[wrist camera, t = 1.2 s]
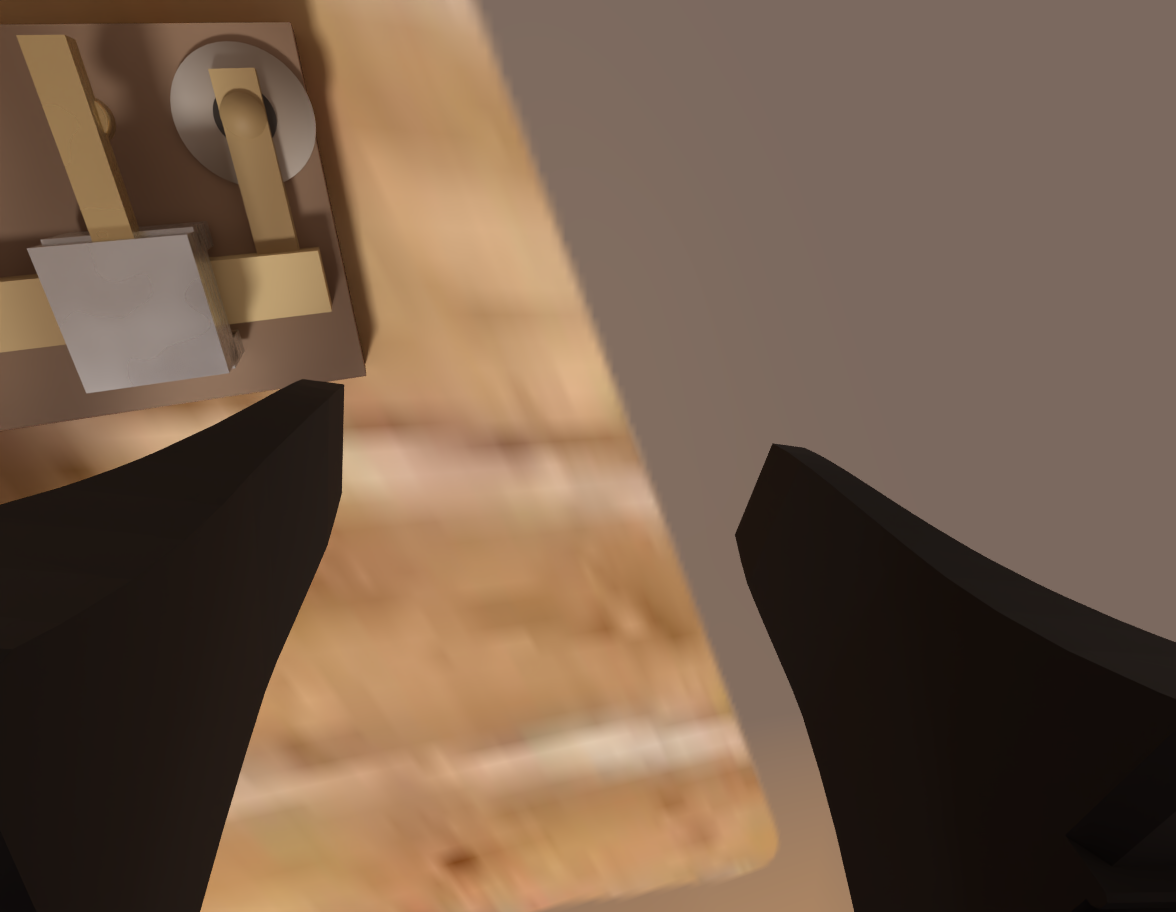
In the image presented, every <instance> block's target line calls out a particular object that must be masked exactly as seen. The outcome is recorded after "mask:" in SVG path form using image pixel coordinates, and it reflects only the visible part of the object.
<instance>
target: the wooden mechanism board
mask: <svg viewBox="0 0 1176 912" xmlns="http://www.w3.org/2000/svg"><path fill="white" fill-rule="evenodd" d="M16 35H67V36H69V37H71V38H73V39H75V40H76V43H77V45H78V48H79V51H80V54H81V57H82V60H83V63H84V66H85V69H86V72H87V75H88V78H89V81H90V84H91V87H92V90H93V93H94V96H95V97H96V98H98V99H99V100H101V101H102V102H103V103H105V104H106V105H107V106H108V108H109V109H110V110H111V112H112V113H113V115H114V118H115V121H116V132H115V135H114V137H113V138H112V139H111V140H110V144H111V147H112V149H113V152H114V155H115V158H116V161H117V164H118V167H119V170H120V173H121V176H122V179H123V182H124V185H125V188H126V191H127V194H128V197H129V200H130V203H131V206H132V209H133V212H134V215H135V218H136V221H137V224H138V227H144V226H156V225H168V224H180V223H192V222H204V221H207V223H208V227H209V230H210V234H211V237H212V241H213V244H214V246H213V247H211V248H209V249H208V250H207V252H208V255H209V258H210V262H211V265H212V268H213V272H214V275H215V279H216V282H217V285H218V289H219V292H220V295H221V299H222V302H223V305H224V309H225V312H226V315H227V319H228V322H229V325H230V329H231V330H239V333H240V336H241V340H242V343H243V346H244V350H245V352H244V353H243V355H242V357H241V359H240V361H239V363H238V365H237V366H236V368H234V369H232V370H231V371H230V373H227V374H220V375H213V376H206V377H199V378H192V379H185V380H178V381H171V382H164V383H157V384H150V385H143V386H136V387H128V388H121V389H114V390H107V391H100V392H93V393H86V391H85V389H84V386H83V384H82V382H81V379H80V377H79V374H78V372H77V369H76V367H75V365H74V362H73V360H72V357H71V355H70V352H69V350H68V348H67V345H66V343H65V340H64V338H63V335H62V333H61V331H60V328H59V326H58V323H57V321H56V318H55V316H54V313H53V311H52V309H51V306H50V304H49V301H48V299H47V296H46V294H45V292H44V289H43V287H42V284H41V282H40V279H39V277H38V275H37V272H36V270H35V267H34V265H33V262H32V260H31V258H30V255H29V253H28V250H27V248H30V247H34V246H38V245H42V243H41V239H45V238H50V237H54V236H58V235H62V234H66V233H71V232H83V231H88V229H87V226H86V223H85V220H84V218H83V215H82V212H81V210H80V207H79V204H78V201H77V199H76V196H75V193H74V191H73V188H72V185H71V183H70V180H69V177H68V174H67V172H66V169H65V166H64V164H63V161H62V158H61V155H60V153H59V150H58V147H57V145H56V142H55V139H54V136H53V134H52V131H51V128H50V126H49V123H48V120H47V117H46V115H45V112H44V109H43V107H42V104H41V101H40V98H39V96H38V93H37V90H36V88H35V85H34V82H33V79H32V77H31V74H30V71H29V69H28V66H27V63H26V60H25V58H24V55H23V52H22V50H21V47H20V44H19V41H18V39H17V36H16ZM362 376H366V369H365V362H364V358H363V353H362V348H361V344H360V339H359V334H358V330H357V325H356V320H355V316H354V311H353V306H352V302H351V297H350V292H349V288H348V283H347V278H346V273H345V269H344V264H343V259H342V255H341V250H340V245H339V241H338V236H337V231H336V227H335V222H334V217H333V213H332V208H331V203H330V199H329V194H328V189H327V185H326V180H325V175H324V171H323V166H322V161H321V157H320V152H319V147H318V143H317V138H316V122H315V115H314V111H313V108H312V105H311V102H310V100H309V97H308V95H307V91H306V86H305V82H304V77H303V72H302V68H301V63H300V58H299V54H298V49H297V44H296V40H295V35H294V31H293V28H292V25H291V23H290V22H255V23H124V24H0V431H4V430H11V429H17V428H24V427H30V426H37V425H44V424H50V423H57V422H64V421H70V420H77V419H83V418H90V417H97V416H103V415H110V414H117V413H123V412H130V411H136V410H143V409H150V408H156V407H163V406H170V405H176V404H183V403H189V402H196V401H203V400H209V399H216V398H223V397H229V396H236V395H242V394H249V393H256V392H262V391H269V390H276V389H282V388H284V387H286V386H288V385H290V384H292V383H294V382H296V381H299V380H301V379H307V380H314V381H322V382H329V381H335V380H342V379H348V378H355V377H362Z"/></svg>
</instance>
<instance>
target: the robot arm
mask: <svg viewBox="0 0 1176 912" xmlns="http://www.w3.org/2000/svg"><path fill="white" fill-rule="evenodd" d="M343 414H344V385H343V384H336V383H329V382H322V381H314V380H307V379H301V380H299V381H296V382H294V383H292V384H290V385H288V386H286V387H284V388H282V389H280V390H279V391H277V392H275V393H273V394H271V395H269V396H268V397H266V398H264V399H262V400H260V401H258V402H257V403H255V404H253V405H251V406H249V407H247V408H245V409H244V410H242V411H240V412H238V413H236V414H234V415H232V416H230V417H228V418H227V419H225V420H223V421H221V422H219V423H217V424H215V425H213V426H211V427H209V428H207V429H205V430H202V431H200V432H198V433H196V434H194V435H192V436H189V437H187V438H185V439H183V440H181V441H179V442H177V443H174V444H172V445H170V446H168V447H166V448H164V449H162V450H159V451H157V452H155V453H153V454H150V455H148V456H145V457H143V458H141V459H138V460H136V461H133V462H131V463H128V464H126V465H123V466H120V467H118V468H115V469H112V470H110V471H107V472H104V473H101V474H98V475H95V476H93V477H90V478H87V479H84V480H81V481H79V482H76V483H73V484H70V485H67V486H64V487H61V488H57V489H54V490H50V491H47V492H43V493H40V494H36V495H33V496H29V497H26V498H22V499H19V500H15V501H12V502H8V503H5V504H1V505H0V912H200V910H201V907H202V903H203V899H204V896H205V892H206V889H207V885H208V882H209V878H210V874H211V871H212V867H213V864H214V860H215V857H216V853H217V850H218V846H219V842H220V839H221V835H222V832H223V828H224V825H225V821H226V818H227V815H228V811H229V808H230V805H231V801H232V798H233V795H234V791H235V788H236V784H237V781H238V778H239V774H240V771H241V768H242V764H243V761H244V758H245V754H246V751H247V748H248V745H249V742H250V738H251V735H252V732H253V729H254V726H255V722H256V719H257V716H258V713H259V710H260V706H261V703H262V700H263V697H264V694H265V691H266V688H267V686H268V683H269V680H270V678H271V675H272V673H273V670H274V667H275V665H276V662H277V660H278V658H279V655H280V653H281V651H282V649H283V646H284V644H285V642H286V639H287V637H288V635H289V633H290V630H291V628H292V626H293V623H294V621H295V619H296V617H297V614H298V612H299V610H300V608H301V605H302V603H303V601H304V598H305V596H306V594H307V592H308V589H309V587H310V585H311V582H312V580H313V578H314V575H315V573H316V571H317V568H318V566H319V564H320V562H321V559H322V557H323V554H324V552H325V550H326V547H327V545H328V541H329V538H330V534H331V531H332V527H333V524H334V520H335V517H336V513H337V509H338V505H339V502H340V498H341V494H342V460H343ZM735 537H736V541H737V545H738V550H739V554H740V558H741V563H742V566H743V570H744V573H745V577H746V580H747V584H748V586H749V589H750V591H751V594H752V596H753V599H754V601H755V604H756V606H757V608H758V611H759V613H760V616H761V618H762V620H763V623H764V625H765V627H766V629H767V632H768V634H769V637H770V639H771V641H772V643H773V646H774V648H775V650H776V653H777V655H778V657H779V660H780V662H781V664H782V667H783V669H784V671H785V673H786V676H787V678H788V680H789V683H790V685H791V688H792V690H793V692H794V695H795V698H796V700H797V703H798V705H799V708H800V710H801V713H802V716H803V719H804V722H805V726H806V729H807V732H808V735H809V739H810V742H811V745H812V748H813V752H814V755H815V758H816V761H817V765H818V768H819V771H820V775H821V779H822V782H823V786H824V790H825V793H826V797H827V801H828V805H829V808H830V812H831V816H832V819H833V823H834V827H835V830H836V834H837V839H838V843H839V847H840V852H841V856H842V860H843V865H844V869H845V873H846V878H847V882H848V886H849V890H850V895H851V899H852V904H853V908H854V912H1176V642H1173V641H1171V640H1168V639H1165V638H1162V637H1160V636H1157V635H1155V634H1152V633H1150V632H1147V631H1144V630H1142V629H1140V628H1137V627H1135V626H1132V625H1129V624H1127V623H1124V622H1122V621H1119V620H1117V619H1115V618H1112V617H1110V616H1108V615H1105V614H1103V613H1101V612H1099V611H1096V610H1094V609H1091V608H1090V607H1087V606H1085V605H1083V604H1080V603H1078V602H1076V601H1074V600H1071V599H1069V598H1067V597H1064V596H1062V595H1060V594H1058V593H1056V592H1054V591H1051V590H1050V589H1047V588H1045V587H1043V586H1041V585H1039V584H1037V583H1035V582H1033V581H1031V580H1029V579H1027V578H1025V577H1023V576H1021V575H1019V574H1017V573H1015V572H1013V571H1012V570H1010V569H1008V568H1006V567H1003V566H1002V565H1000V564H998V563H996V562H994V561H992V560H990V559H988V558H987V557H985V556H983V555H981V554H979V553H978V552H976V551H974V550H972V549H970V548H969V547H967V546H965V545H964V544H962V543H960V542H958V541H957V540H955V539H953V538H952V537H950V536H948V535H947V534H945V533H943V532H942V531H940V530H938V529H937V528H935V527H933V526H932V525H930V524H928V523H927V522H925V521H924V520H922V519H920V518H919V517H917V516H916V515H914V514H912V513H911V512H909V511H908V510H906V509H904V508H903V507H901V506H900V505H898V504H897V503H895V502H894V501H892V500H890V499H889V498H887V497H886V496H884V495H883V494H881V493H880V492H878V491H877V490H875V489H874V488H872V487H870V486H869V485H867V484H866V483H864V482H863V481H861V480H860V479H858V478H857V477H855V476H853V475H852V474H850V473H849V472H847V471H845V470H844V469H842V468H841V467H839V466H837V465H836V464H834V463H832V462H831V461H829V460H827V459H826V458H824V457H822V456H820V455H818V454H816V453H814V452H812V451H810V450H808V449H806V448H802V447H794V446H787V445H780V444H772V446H771V449H770V451H769V453H768V456H767V458H766V461H765V463H764V466H763V468H762V470H761V473H760V475H759V478H758V480H757V483H756V485H755V487H754V490H753V493H752V495H751V497H750V500H749V502H748V505H747V507H746V509H745V512H744V514H743V517H742V519H741V522H740V524H739V526H738V529H737V531H736V534H735Z"/></svg>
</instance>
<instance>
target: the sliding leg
mask: <svg viewBox="0 0 1176 912" xmlns="http://www.w3.org/2000/svg"><path fill="white" fill-rule="evenodd" d="M16 36H17V39H18V41H19V44H20V47H21V50H22V52H23V55H24V58H25V60H26V63H27V66H28V69H29V71H30V74H31V77H32V79H33V82H34V85H35V88H36V90H37V93H38V96H39V98H40V101H41V104H42V107H43V109H44V112H45V115H46V117H47V120H48V123H49V126H50V128H51V131H52V134H53V136H54V139H55V142H56V145H57V147H58V150H59V153H60V155H61V158H62V161H63V164H64V166H65V169H66V172H67V174H68V177H69V180H70V183H71V185H72V188H73V191H74V193H75V196H76V199H77V201H78V204H79V207H80V210H81V212H82V215H83V218H84V220H85V223H86V226H87V229H88V231H83V232H71V233H66V234H62V235H58V236H54V237H50V238H45V239H41V243H42V245H38V246H34V247H30V248H27V250H28V253H29V255H30V258H31V260H32V262H33V265H34V267H35V270H36V272H37V275H38V277H39V279H40V282H41V284H42V287H43V289H44V292H45V294H46V296H47V299H48V301H49V304H50V306H51V309H52V311H53V313H54V316H55V318H56V321H57V323H58V326H59V328H60V331H61V333H62V335H63V338H64V340H65V343H66V345H67V348H68V350H69V352H70V355H71V357H72V360H73V362H74V365H75V367H76V369H77V372H78V374H79V377H80V379H81V382H82V384H83V386H84V389H85V391H86V393H93V392H100V391H107V390H114V389H121V388H128V387H136V386H143V385H150V384H157V383H164V382H171V381H178V380H185V379H192V378H199V377H206V376H213V375H220V374H227V373H230V371H231V370H232V369H234V368H236V366H237V365H238V363H239V361H240V359H241V357H242V355H243V353H244V352H245V350H244V346H243V343H242V340H241V336H240V333H239V330H231V329H230V325H229V322H228V319H227V315H226V312H225V309H224V305H223V302H222V299H221V295H220V292H219V289H218V285H217V282H216V279H215V275H214V272H213V268H212V265H211V262H210V258H209V255H208V252H207V250H208V249H209V248H211V247H213V246H214V244H213V241H212V237H211V234H210V230H209V227H208V223H207V221H204V222H192V223H180V224H168V225H156V226H144V227H138V224H137V221H136V218H135V215H134V212H133V209H132V206H131V203H130V200H129V197H128V194H127V191H126V188H125V185H124V182H123V179H122V176H121V173H120V170H119V167H118V164H117V161H116V158H115V155H114V152H113V149H112V147H111V144H110V140H111V139H112V138H113V137H114V135H115V132H116V121H115V118H114V115H113V113H112V112H111V110H110V109H109V108H108V106H107V105H106V104H105V103H103V102H102V101H101V100H99V99H98V98H96V97H95V96H94V93H93V90H92V87H91V84H90V81H89V78H88V75H87V72H86V69H85V66H84V63H83V60H82V57H81V54H80V51H79V48H78V45H77V43H76V40H75V39H73V38H71V37H69V36H67V35H16Z"/></svg>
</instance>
